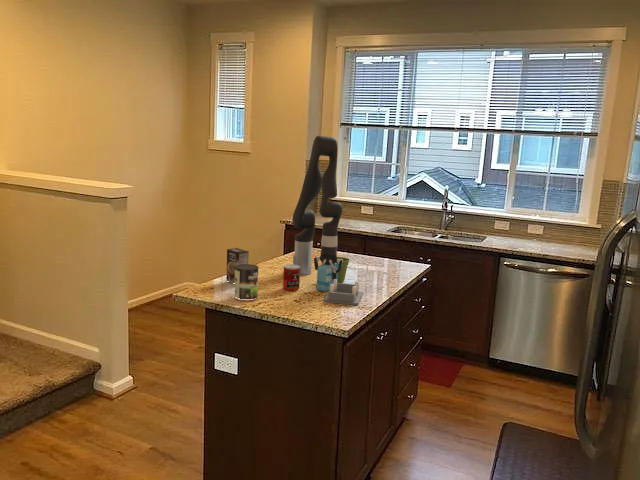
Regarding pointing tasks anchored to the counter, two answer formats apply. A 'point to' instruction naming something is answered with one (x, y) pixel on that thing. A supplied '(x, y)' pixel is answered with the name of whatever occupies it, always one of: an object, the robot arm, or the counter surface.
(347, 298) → the tray
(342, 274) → the plant pot
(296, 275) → the canned food
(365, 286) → the counter surface
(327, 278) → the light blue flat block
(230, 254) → the coffee box
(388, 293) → the counter surface
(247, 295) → the coffee can
